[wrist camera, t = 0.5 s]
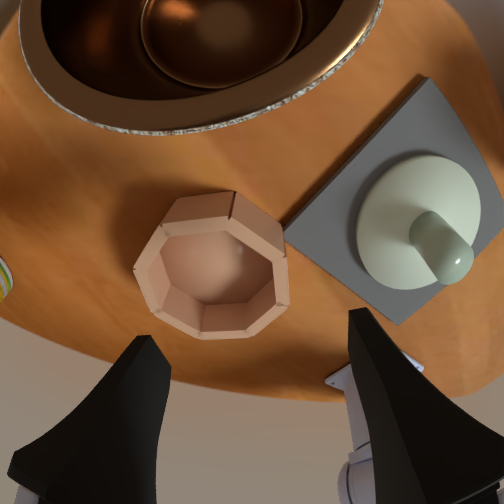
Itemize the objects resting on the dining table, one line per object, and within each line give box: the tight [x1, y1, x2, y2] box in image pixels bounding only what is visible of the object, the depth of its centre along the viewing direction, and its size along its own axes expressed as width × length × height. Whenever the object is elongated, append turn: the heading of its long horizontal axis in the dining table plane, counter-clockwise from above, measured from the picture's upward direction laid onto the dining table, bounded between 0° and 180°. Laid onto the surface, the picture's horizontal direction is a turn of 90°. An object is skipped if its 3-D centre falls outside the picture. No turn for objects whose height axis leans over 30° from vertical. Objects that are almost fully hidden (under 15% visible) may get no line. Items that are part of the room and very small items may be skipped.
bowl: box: [133, 191, 290, 340], centre depth 18 cm, size 9×9×4 cm
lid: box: [355, 154, 481, 290], centre depth 15 cm, size 10×10×5 cm
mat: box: [283, 77, 504, 326], centre depth 18 cm, size 14×14×1 cm
